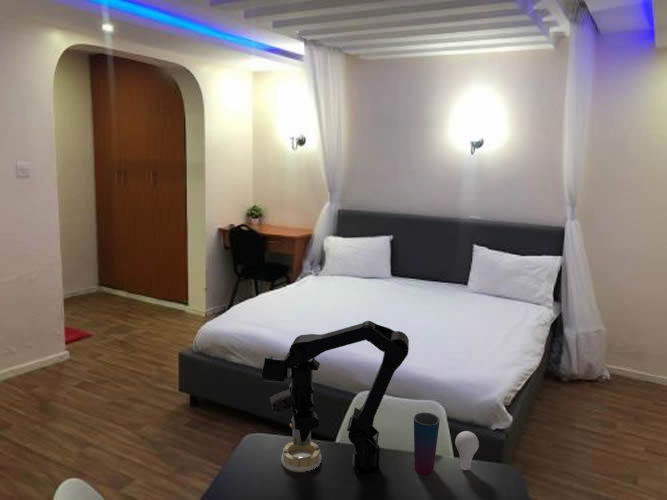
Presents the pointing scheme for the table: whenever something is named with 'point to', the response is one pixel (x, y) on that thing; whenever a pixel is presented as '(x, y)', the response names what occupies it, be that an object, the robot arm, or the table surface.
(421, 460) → the cup
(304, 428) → the robot arm
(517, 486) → the table surface
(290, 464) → the ring
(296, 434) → the bayonet cap
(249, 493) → the table surface
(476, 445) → the lightbulb
